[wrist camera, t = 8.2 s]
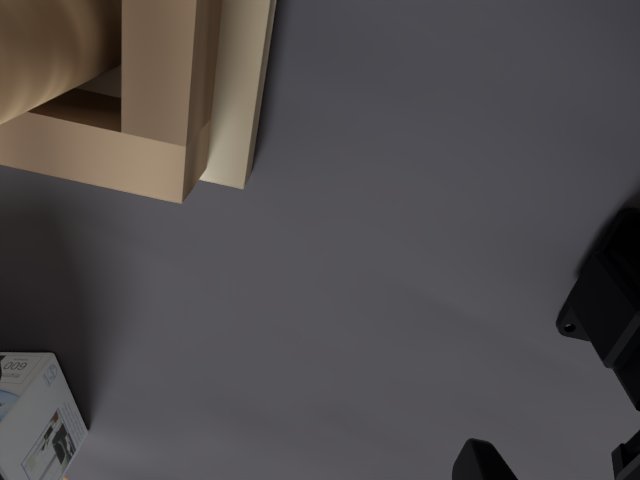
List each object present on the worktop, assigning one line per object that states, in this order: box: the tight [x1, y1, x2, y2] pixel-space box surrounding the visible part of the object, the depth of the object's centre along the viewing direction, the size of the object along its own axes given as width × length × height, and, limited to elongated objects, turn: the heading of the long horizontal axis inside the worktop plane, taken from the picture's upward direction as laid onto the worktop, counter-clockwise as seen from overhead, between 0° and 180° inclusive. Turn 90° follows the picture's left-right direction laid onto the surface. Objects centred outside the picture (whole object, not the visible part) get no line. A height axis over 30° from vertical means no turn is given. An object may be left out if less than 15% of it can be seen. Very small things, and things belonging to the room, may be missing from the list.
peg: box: [0, 0, 122, 124], centre depth 13 cm, size 4×4×8 cm
